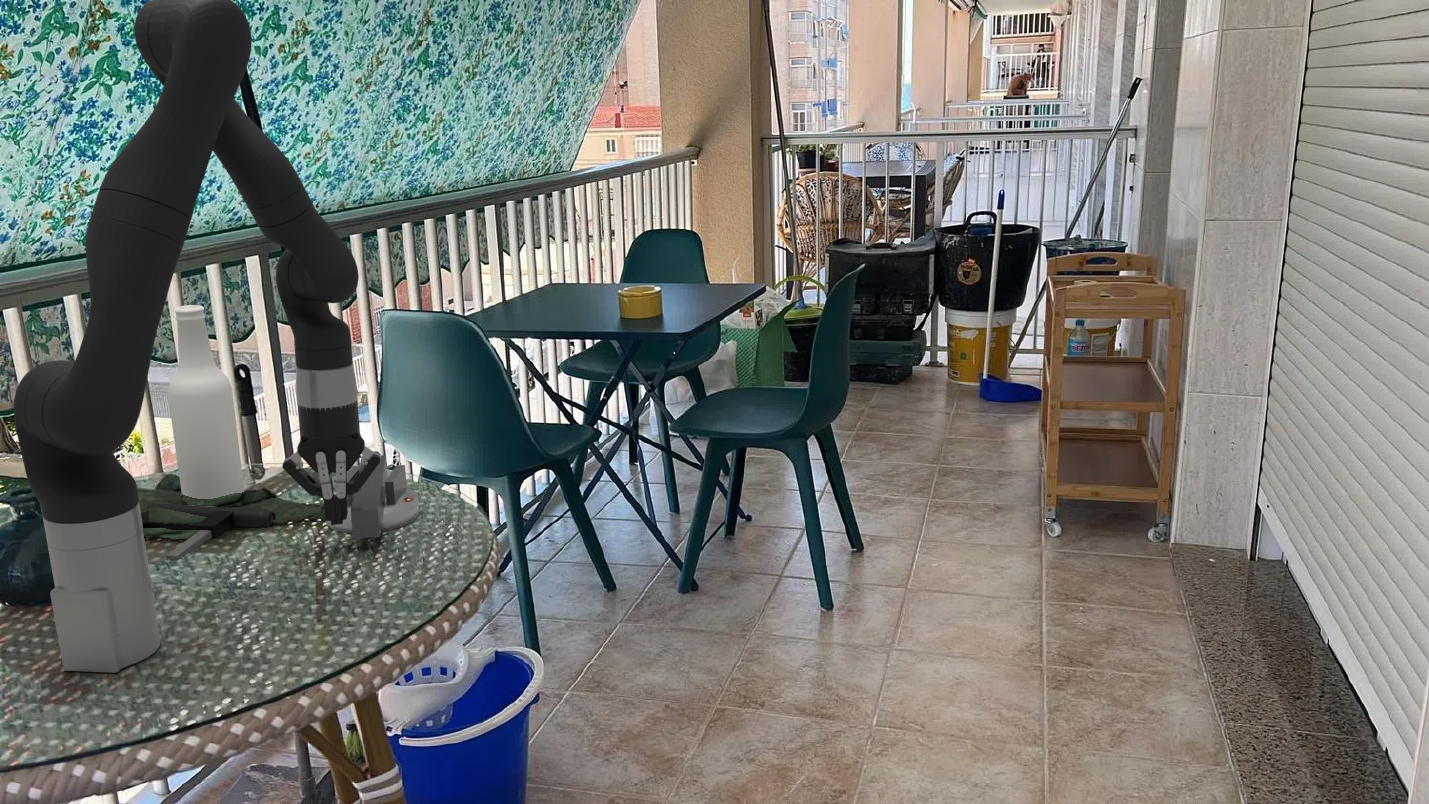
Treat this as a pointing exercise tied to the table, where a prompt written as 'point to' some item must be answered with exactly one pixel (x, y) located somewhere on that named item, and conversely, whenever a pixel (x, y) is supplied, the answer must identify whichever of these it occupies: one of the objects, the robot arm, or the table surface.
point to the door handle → (209, 523)
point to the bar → (370, 503)
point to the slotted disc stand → (387, 502)
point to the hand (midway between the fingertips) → (337, 522)
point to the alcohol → (203, 414)
